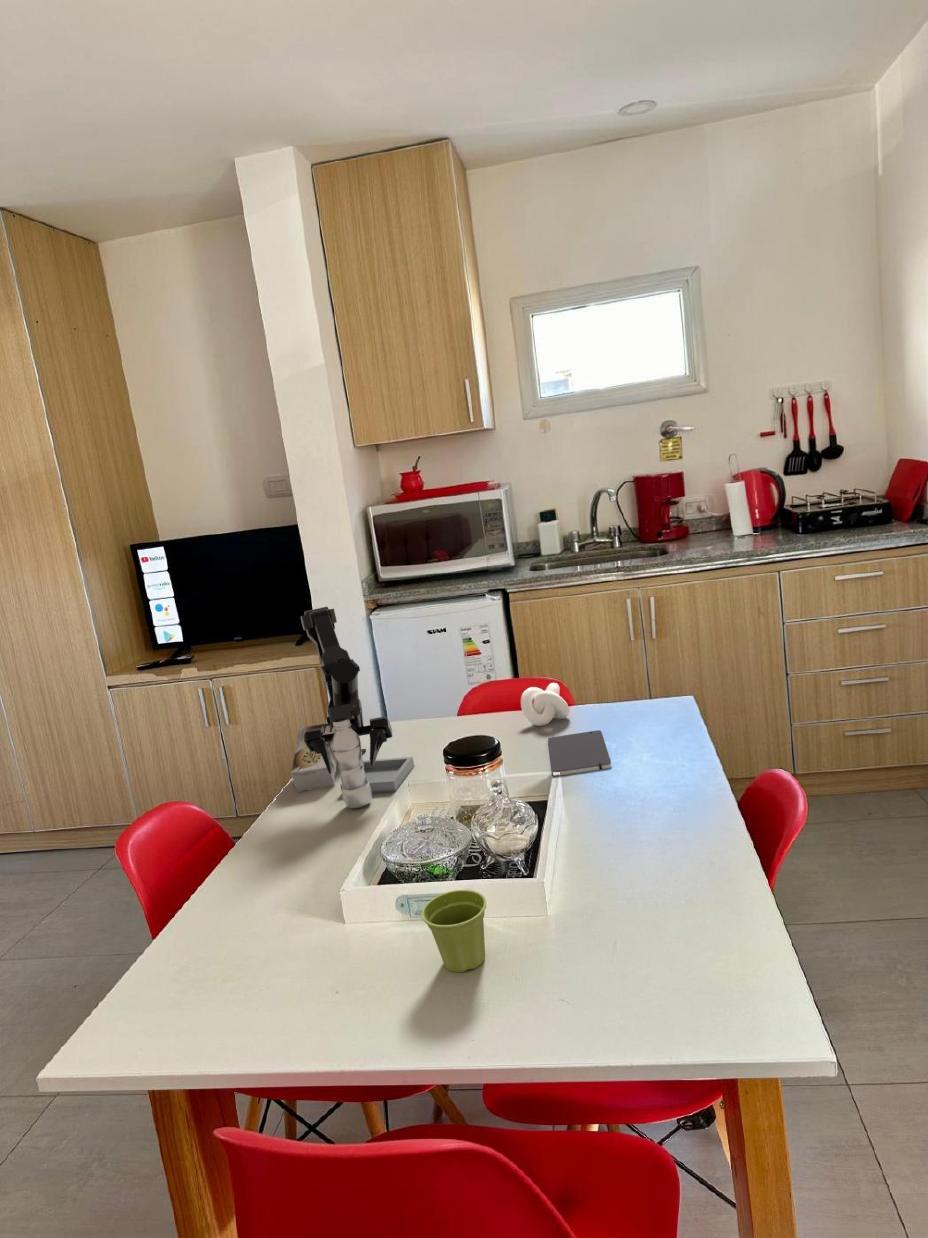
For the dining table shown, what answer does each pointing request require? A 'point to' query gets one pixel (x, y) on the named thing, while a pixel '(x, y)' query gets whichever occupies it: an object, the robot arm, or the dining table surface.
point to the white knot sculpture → (543, 705)
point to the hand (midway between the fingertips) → (351, 769)
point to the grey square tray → (387, 773)
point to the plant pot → (458, 928)
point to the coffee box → (312, 763)
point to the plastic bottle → (350, 765)
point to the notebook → (578, 752)
